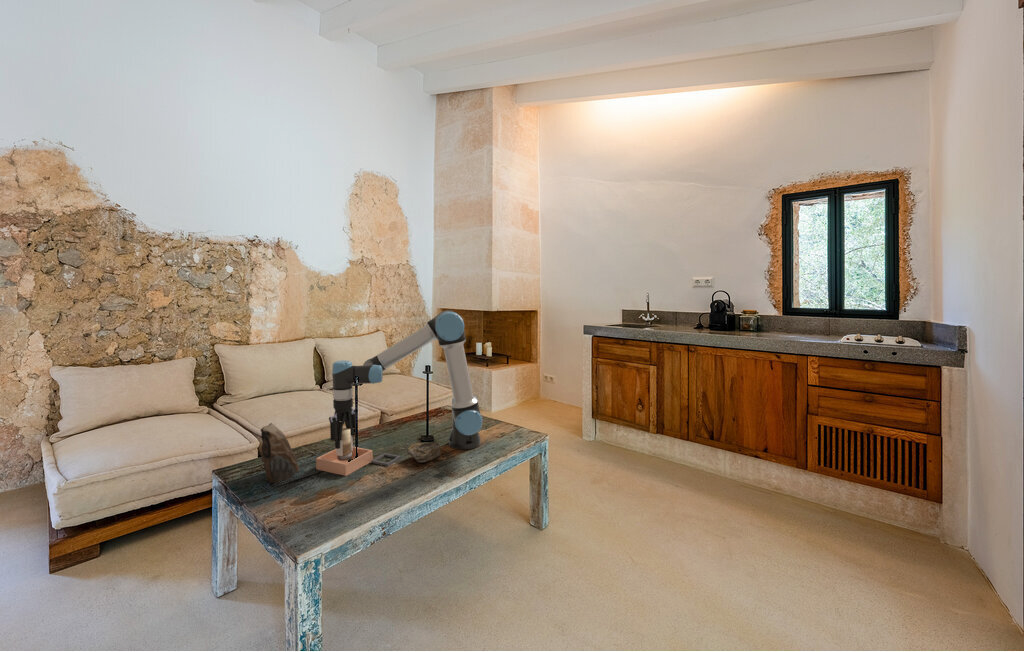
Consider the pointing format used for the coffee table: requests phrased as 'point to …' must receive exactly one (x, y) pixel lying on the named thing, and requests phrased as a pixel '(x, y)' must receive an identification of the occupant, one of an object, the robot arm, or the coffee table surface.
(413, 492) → the coffee table surface
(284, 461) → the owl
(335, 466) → the tray
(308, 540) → the coffee table surface
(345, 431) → the beige rounded cylinder
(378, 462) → the gray square frame
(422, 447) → the stone
